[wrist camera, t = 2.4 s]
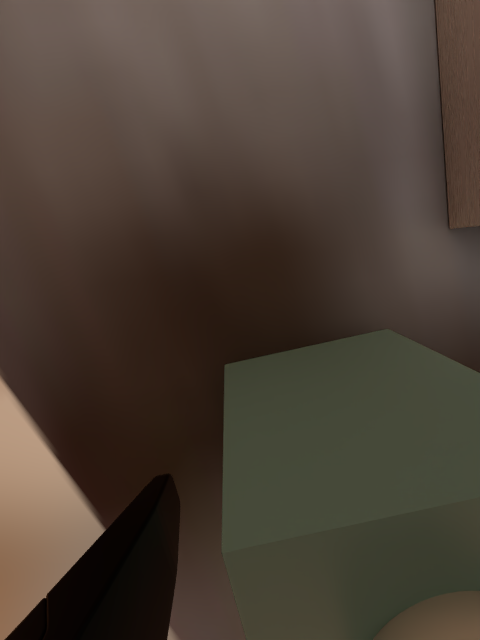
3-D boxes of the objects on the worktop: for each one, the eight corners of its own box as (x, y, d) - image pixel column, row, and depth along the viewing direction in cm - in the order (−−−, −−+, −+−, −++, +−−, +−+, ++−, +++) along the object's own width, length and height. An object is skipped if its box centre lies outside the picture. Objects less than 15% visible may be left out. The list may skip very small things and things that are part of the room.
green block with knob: (403, 469, 10) (736, 882, 4) (257, 501, 10) (315, 969, 4) (387, 328, 9) (822, 538, 3) (224, 364, 9) (219, 668, 3)
